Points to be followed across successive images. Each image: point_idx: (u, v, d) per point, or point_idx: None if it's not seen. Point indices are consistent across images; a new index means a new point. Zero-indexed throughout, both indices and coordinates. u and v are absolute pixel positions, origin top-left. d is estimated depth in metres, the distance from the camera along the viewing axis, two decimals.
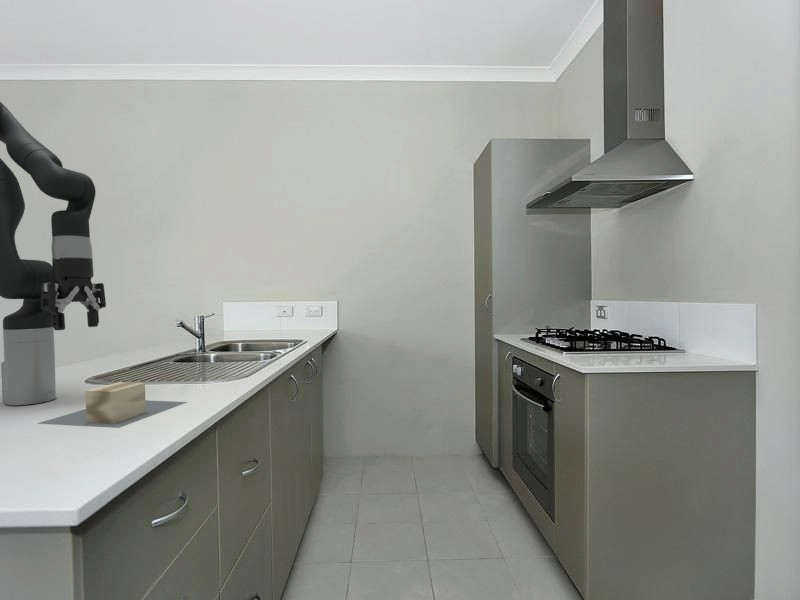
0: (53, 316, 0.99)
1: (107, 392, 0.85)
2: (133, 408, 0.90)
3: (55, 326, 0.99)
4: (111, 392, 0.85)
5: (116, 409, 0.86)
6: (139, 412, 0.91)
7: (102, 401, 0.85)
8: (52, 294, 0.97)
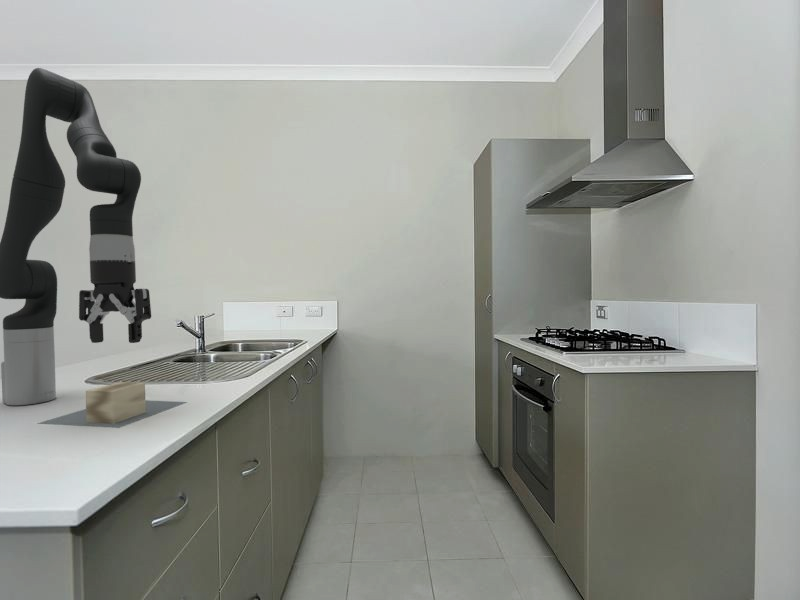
0: (137, 326, 0.88)
1: (107, 392, 0.85)
2: (133, 408, 0.90)
3: (139, 337, 0.88)
4: (111, 392, 0.85)
5: (116, 409, 0.86)
6: (139, 412, 0.91)
7: (102, 401, 0.85)
8: None
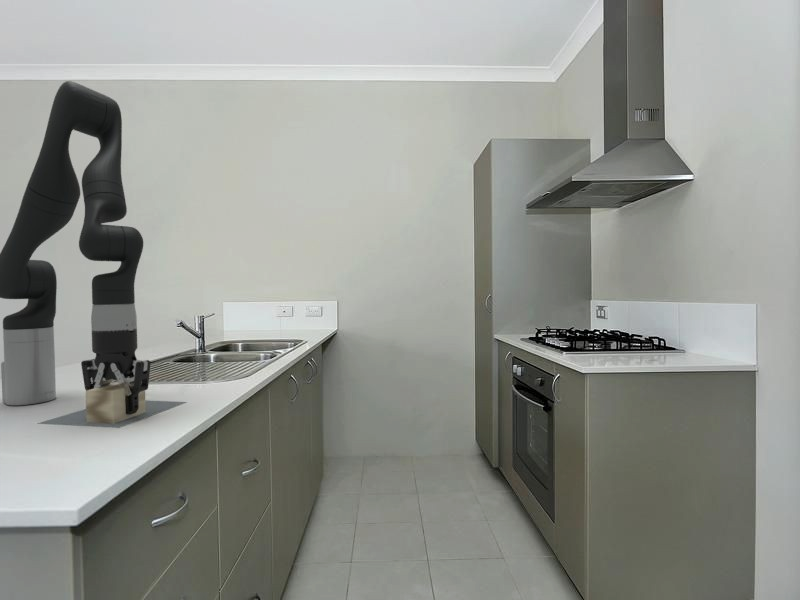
0: (134, 398, 0.88)
1: (107, 392, 0.85)
2: None
3: (135, 409, 0.89)
4: (111, 392, 0.85)
5: (116, 409, 0.86)
6: (139, 412, 0.91)
7: (102, 401, 0.85)
8: None
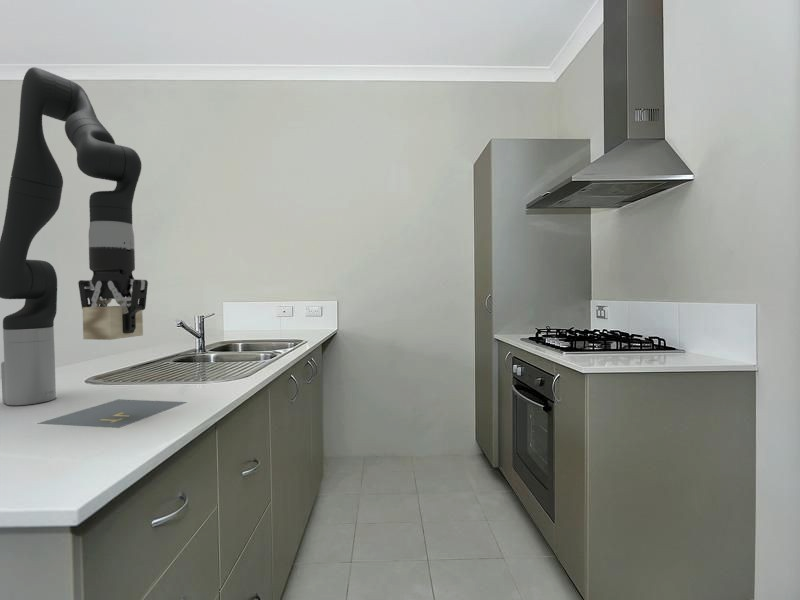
0: (131, 317, 0.88)
1: (104, 308, 0.85)
2: None
3: (132, 328, 0.88)
4: (108, 308, 0.84)
5: (113, 326, 0.85)
6: (136, 334, 0.91)
7: (99, 318, 0.85)
8: None
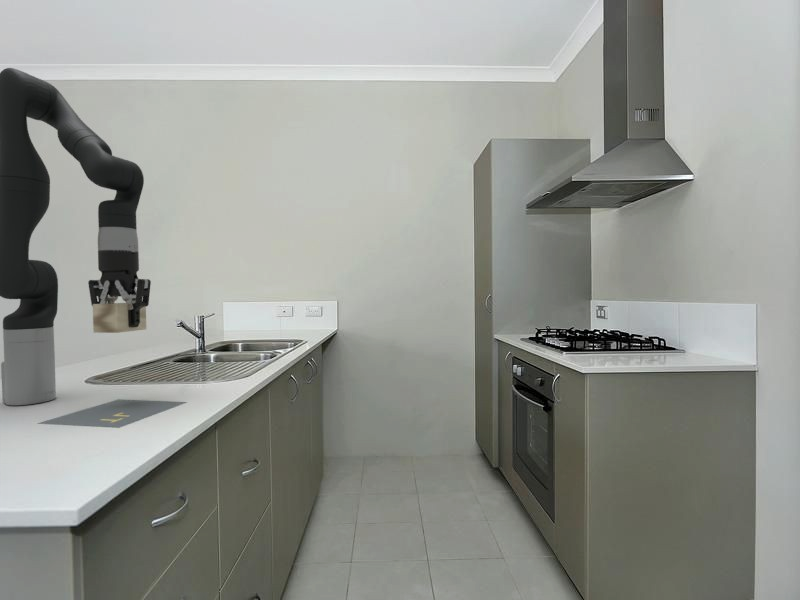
0: (135, 313, 0.98)
1: (112, 304, 0.95)
2: None
3: (137, 323, 0.98)
4: (115, 304, 0.95)
5: (120, 321, 0.95)
6: (140, 328, 1.01)
7: (107, 313, 0.95)
8: None
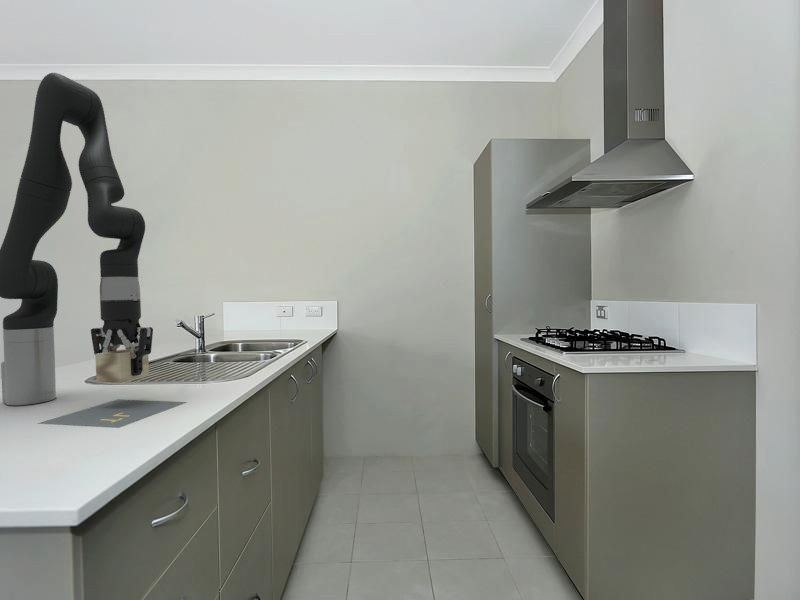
0: (138, 361, 0.98)
1: (115, 354, 0.95)
2: None
3: (140, 371, 0.99)
4: (118, 354, 0.95)
5: (123, 370, 0.96)
6: (143, 375, 1.01)
7: (110, 363, 0.95)
8: None
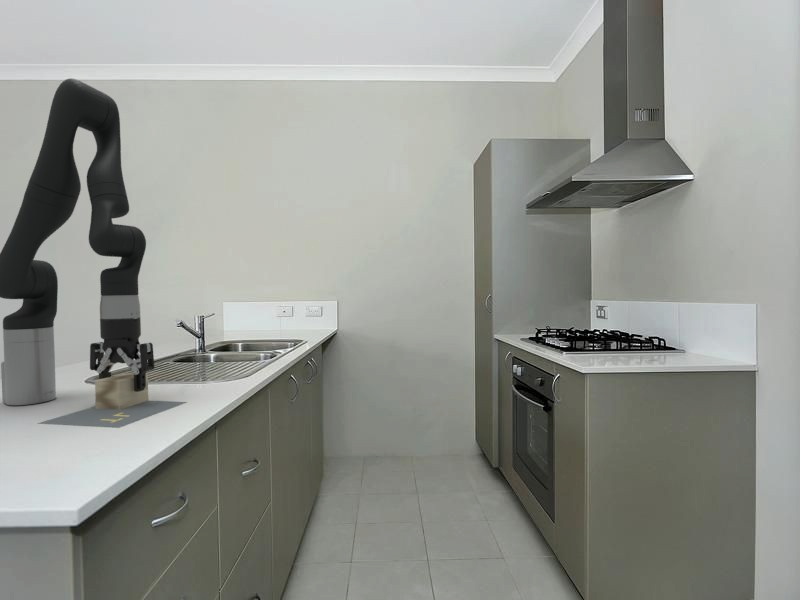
0: (141, 377, 0.98)
1: (114, 381, 0.95)
2: (137, 396, 1.00)
3: (143, 387, 0.99)
4: (118, 381, 0.95)
5: (122, 397, 0.96)
6: (142, 400, 1.01)
7: (110, 390, 0.96)
8: None
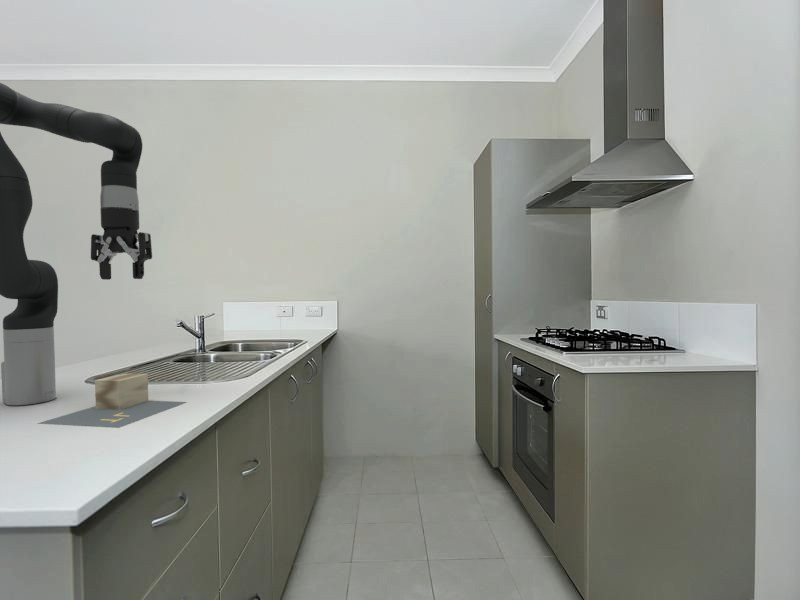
0: (140, 265, 1.03)
1: (114, 381, 0.95)
2: (137, 396, 1.00)
3: (141, 274, 1.04)
4: (118, 381, 0.95)
5: (122, 397, 0.96)
6: (142, 400, 1.01)
7: (110, 390, 0.96)
8: None
